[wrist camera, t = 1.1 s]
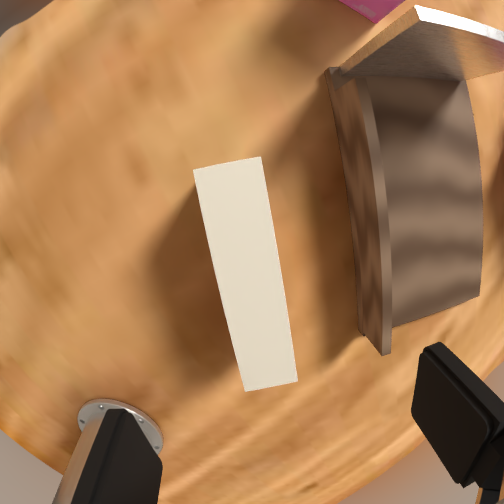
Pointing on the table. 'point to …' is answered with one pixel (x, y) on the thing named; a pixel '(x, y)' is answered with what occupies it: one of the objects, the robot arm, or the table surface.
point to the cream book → (248, 270)
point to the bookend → (430, 48)
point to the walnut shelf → (409, 196)
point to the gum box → (373, 7)
